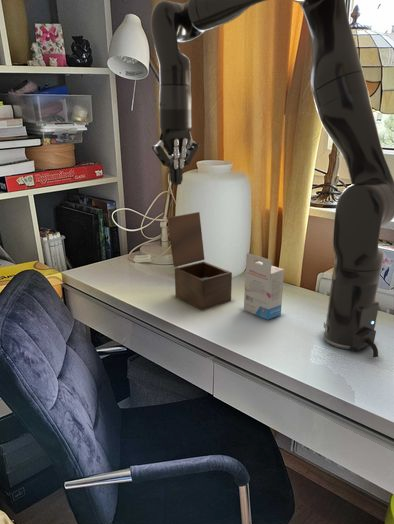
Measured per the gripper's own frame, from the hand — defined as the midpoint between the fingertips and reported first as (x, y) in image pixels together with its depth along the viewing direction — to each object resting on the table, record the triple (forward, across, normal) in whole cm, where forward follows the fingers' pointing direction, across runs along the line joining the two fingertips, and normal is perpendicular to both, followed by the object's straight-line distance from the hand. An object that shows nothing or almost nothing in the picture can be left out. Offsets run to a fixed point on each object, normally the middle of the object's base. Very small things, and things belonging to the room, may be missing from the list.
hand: (176, 184), depth 120 cm
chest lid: (+13, 0, -4) cm, 14 cm away
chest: (+27, 0, -11) cm, 30 cm away
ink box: (+27, +6, -27) cm, 39 cm away
